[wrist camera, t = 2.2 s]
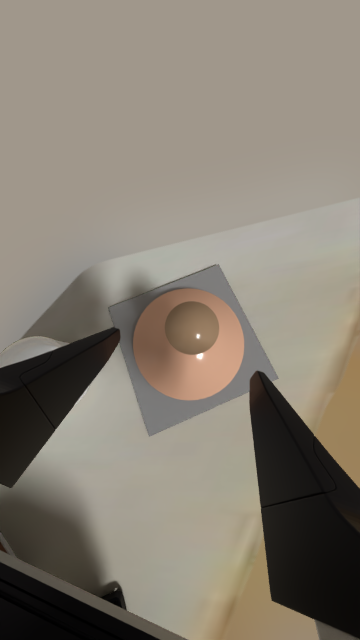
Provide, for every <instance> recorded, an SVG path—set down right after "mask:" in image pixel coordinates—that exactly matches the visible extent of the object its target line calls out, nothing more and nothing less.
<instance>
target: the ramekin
mask: <svg viewBox="0 0 360 640" xmlns="http://www.w3.org/2000/svg"><path fill="white" fill-rule="evenodd" d="M68 344H70V343H67V342H61V341H57V340H54V339H52V338H48V337H43V336H32V337H27V338H23V339H21V340H18V341H16V342H14V343H13V344H11V345H10V346H8V347H7V348H5V349H4V350H3V351H2V352H1V353H0V368H1V367H4V366H8V365H11V364H14V363H17V362H20V361H23V360H26V359H29V358H32V357H35V356H38V355H41V354H44V353H46V352H49V351H52V350H54V349H57V348H60V347H62V346H65V345H68ZM89 386H90V385H89ZM89 386H88V388H89ZM88 388H87V389H86V390H85V392H84V393H83V394H82V396H81V397H80V398H79V400H78V401H77V402H76V403H78V402H79V401H80V400H81V399H82V397H83V396H84V395H85V393H86V392H87V390H88Z"/></svg>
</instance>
